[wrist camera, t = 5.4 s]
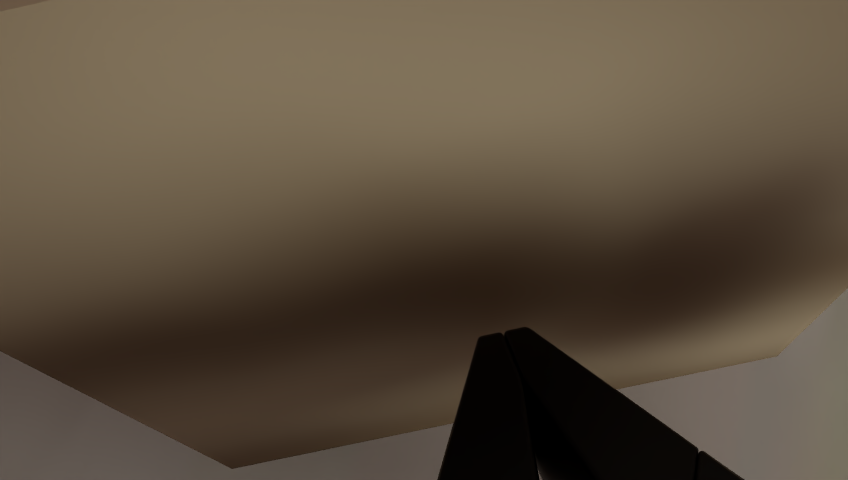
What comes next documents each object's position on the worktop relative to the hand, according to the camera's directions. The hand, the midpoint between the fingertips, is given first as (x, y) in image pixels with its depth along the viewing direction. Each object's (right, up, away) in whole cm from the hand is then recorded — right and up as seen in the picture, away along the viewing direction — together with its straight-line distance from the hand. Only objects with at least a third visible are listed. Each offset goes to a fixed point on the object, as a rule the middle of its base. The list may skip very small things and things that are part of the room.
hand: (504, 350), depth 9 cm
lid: (0, +1, 0) cm, 1 cm away
